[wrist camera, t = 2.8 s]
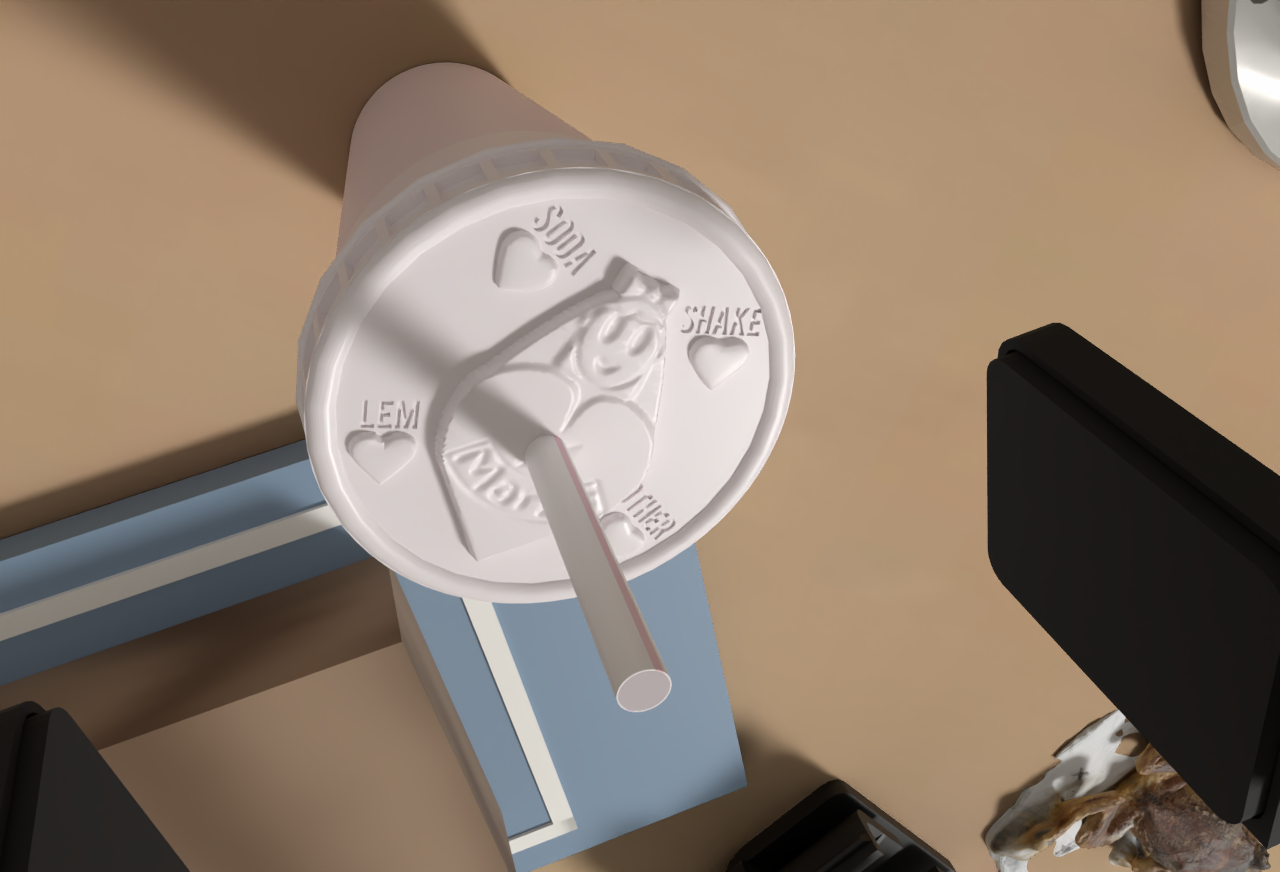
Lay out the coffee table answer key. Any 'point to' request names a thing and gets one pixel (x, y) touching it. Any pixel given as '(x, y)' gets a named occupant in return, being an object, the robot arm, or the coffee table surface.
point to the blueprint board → (452, 627)
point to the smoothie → (535, 358)
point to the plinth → (290, 734)
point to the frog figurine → (1120, 813)
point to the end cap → (837, 839)
